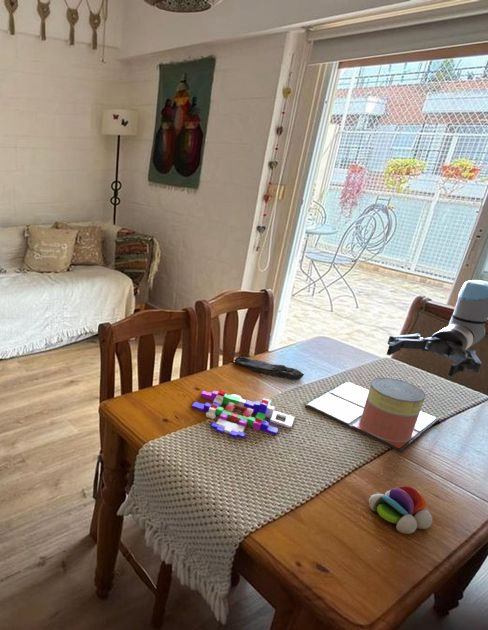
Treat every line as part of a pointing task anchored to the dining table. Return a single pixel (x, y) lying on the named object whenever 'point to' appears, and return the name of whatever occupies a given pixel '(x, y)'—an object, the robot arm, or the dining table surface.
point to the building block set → (245, 419)
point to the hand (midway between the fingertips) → (419, 360)
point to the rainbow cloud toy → (402, 509)
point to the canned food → (392, 409)
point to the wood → (268, 368)
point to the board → (349, 407)
